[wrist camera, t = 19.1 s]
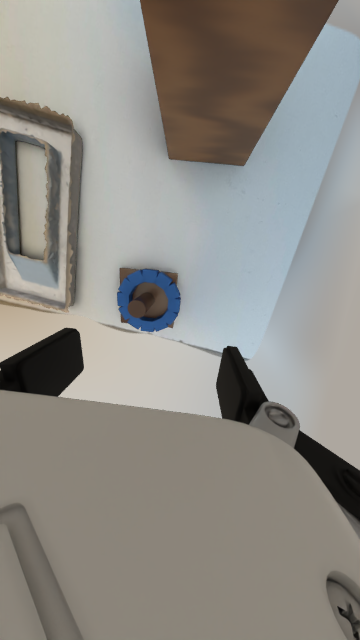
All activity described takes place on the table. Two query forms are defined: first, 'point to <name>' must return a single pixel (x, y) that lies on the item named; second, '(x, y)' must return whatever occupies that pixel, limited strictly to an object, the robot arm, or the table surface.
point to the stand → (226, 69)
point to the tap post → (147, 297)
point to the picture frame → (62, 212)
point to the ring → (163, 282)
